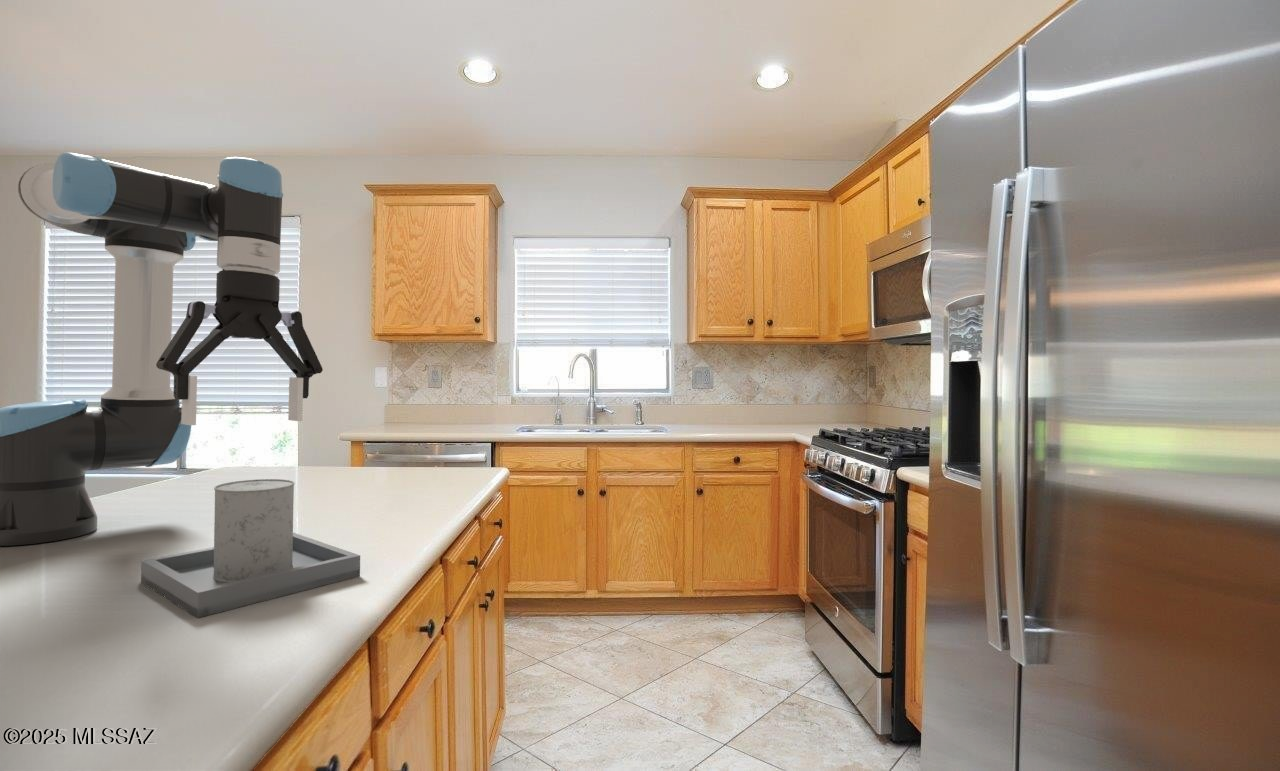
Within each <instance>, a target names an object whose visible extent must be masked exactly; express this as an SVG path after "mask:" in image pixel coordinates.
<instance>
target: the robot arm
mask: <svg viewBox="0 0 1280 771" xmlns="http://www.w3.org/2000/svg"><path fill="white" fill-rule="evenodd" d="M218 169H219V170H218V175H216V177H217V180H218V184H216V185H213V184H208V183H205V182H202V181H201V182H200V181H195V180H192V179H188V178H182V177H179V176H173V175H169V174H166V173H161V172H156V171H152V170H148V169H144V168H139V167H136V166H131V165H127V164H122V163H119V162H114V161H110V160H106V159H103V158H101V157H99V156H93V155H85V154H81V153H80V154H79V153H74V152H63V153H61V154H60V155H58V157H57V160H56V161H55V163H43V164H38V165H35V166H33V167H30V168H28V169H27V170H26V171H24V172H23V173H22V175H21V176H20V178H19V180H18V182H17V193H18V195H19V198H20V200H21V202H22V204H23V206H24V207H25V208H26V209H27V210H28V212H31V213H32V215H33V216H35V217H37V218H38V219H40V220H42V221H44V222H46V223H49V224H51V225H53V226H56V227H57V228H60V229H63V230H65V231H70V232H73V233H76V234H77V233H78V234H82V235H85V236H86V235H87V236H92V237H99V238H104V249H105V250H106V252H107V253H109V254H110V255H111V256H112V257H113V259H114V260H115V268H114V269H115V270H114V301H113V302H114V306H113V309H114V310H113V335H112V336H113V339H112V340H113V342H112V343H113V344H112V375H111V376H112V378H111V379H112V380H111V387H110V389H108V390H107V391H106V392H105V393H103V394H102V395H101V397H100V406H89V403H87V400H86V399H83V398H70V399H68V398H67V399H56V400H46V401H45V400H44V401H35V402H34V401H33V402H27V403H18V404H11V405H8V406H3V407H0V547H3V546H5V547H7V546H8V547H9V546H22V545H23V546H25V545H34V544H35V545H36V544H41V543H48V542H55V541H56V542H57V541H62V540H66V539H71V538H77V537H80V536H84V535H87V534H90V533H93V532H95V531H96V530H98V516H97V512H96V510H95V507H94V505H93V503H92V501H91V498H90V496H89V494H88V491H87V489H86V472H87V471H89V472H90V471H100V470H101V471H102V470H114V469H124V468H126V469H127V468H136V467H137V468H138V467H146V468H151V467H154V466H160V465H161V466H162V465H169V464H172V463H174V462H176V461H178V460H179V459H180V458H181V457H182V456H183V454H184V453H185V451H186V449H187V448H188V447H187V446H188V445H189V441H190V436H191V432H192V426H197V401H198V400H197V399H198V398H197V393H198V376H197V375H190V374H191V373H192V371H193V370H194V369H195V368H196V367H197V366H199V365H200V364H201V363H202V362H203V361H204V360H205V359H206V358H207V357H208V356H209V355H210V354H211V353H212V352H214V351H215V350H216V348H218V347H219V346H220V344H222V343H224V341H225V340H227V339H229V337H231V338H235V339H245V338H246V339H247V338H248V339H250V340H264V342H266V343H268V344H269V346H270V347H271V348H272V349H273V350H274V351H275V353H276V354H277V355H278V356H279V357H280V358H281V360H282V361H283V362H284V363H285V365H286V366H287V367H288V368H289V369H290V370H291V372H292V373H293V374H294V376H296V377H293V376H292V377H291V376H290V377H289V378H288V379H289V384H288V385H289V386H288V418H287V420H288V421H292V422H293V421H294V422H303V404H304V403H303V402H304V399H308V397H309V391H310V378H312V377H313V376H314V375H317V374H321V373H322V372H323V370H324V368H323V367H322V364H321V362H320V360H319V358H318V355H317V354H316V352H315V351H316V350H315V349H314V347H313V345H312V343H311V340H310V338H309V336H308V335H307V332H306V330H305V328H304V323H303V314H302V313H301V311H300V310H299V311H298V310H294V311H288V312H287V311H286V312H281V310H280V308H279V307H280V306H279V303H280V290H281V289H280V288H281V285H280V284H281V282H280V278H279V277H278V276H276V275H278V274H279V273H280V272H281V270H280V269H281V237H282V236H281V235H282V209H283V208H282V207H283V198H284V194H283V187H282V186H283V183H282V174H281V172H280V170H279V169H278V168H276V167H275V166H274V165H272V164H269V163H267V162H264V161H261V160H257V159H253V158H249V157H239V156H238V157H237V156H233V157H232V156H231V157H226V158H223V159H222V160H220V163H219V168H218ZM196 237H199V238H200V239H203V240H205V241H207V242H208V241H209V242H217V250H216V266H217V267H218V268H220V269H221V270H218V272H216V282H215V284H216V288H215V289H216V290H215V295H216V296H215V297H216V298H215V299H216V301H215V304H208V303H205V302H204V301H202V300H197V301H190V302H189V303H188V304H187V308H186V309H187V310H186V315H185V319H184V320H183V322H182V323H181V325H180V326H179V328H178V329H177V330H176V332H175V333H174V335H173V337H172V331H173V330H172V329H173V328H172V327H173V296H174V293H173V292H174V291H173V290H174V288H173V287H174V266H175V265H176V264H178V263H179V262H180V261H182V260H183V259H184V252H186V251H190V250H193V248H194V247H195V245H196V241H197V240H196ZM211 314H212V316H213V317H214V318H215V319H216V321H217V322H218V324H217V325H216V326H215V327H214V328H213V329H211V331H210V332H209V334H208V335H206V337H205V338H203V340H202V341H200V342H199V343H198V344H197V345H196V346H195V347H194V348H193V349H192V350H190V351H189V352H188V353H187V354H186V355H185V356H184V357H183V358H182V359H181V360H180V361H179V359H180V357H181V356H182V355H183V353H184V351H185V350H186V348H187V347H188V345H189V344H190V343H191V341H192V339H193V337H194V336H195V334H196V333H197V331H198V330H199V328H200V326H201V324H202V323H203V321H204V320H206V319H208V318H209V316H210V315H211ZM281 321H282V323H283V325H284V326H286V328H287V332H288V333H289V336H290V339H291V340H292V342H293V344H294V346H295V348H296V351H297V353H298V354H299V356H300V357H299V356H298V354H297V353H296V352H295V351H294V350H293V349H292V348H291V346H290V345H289V344H288V342H287V341H286V340H285V338H284V336H283V334H282V333H281V332H280V331H279V329H278V328H277V327H276V326H277V325H278V324H279V323H280V322H281ZM178 361H179V362H178ZM171 374H172V376H173V390H172V389H171V388H172V387H171ZM180 400H181V403H180Z"/></svg>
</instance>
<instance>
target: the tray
mask: <svg viewBox="0 0 1280 771" xmlns="http://www.w3.org/2000/svg"><path fill="white" fill-rule="evenodd" d="M140 563H141V564H140V565H141V566H140V568H141V569H140V570H141V571H140V572H141V573H140V583H142V584H143V583H144V585H145V586H146V585H147V586H146V587H148V586H149V587H150V589H151V588H152V589H151V590H153V589H154V590H155V592H156V591H157V592H158V593H157V592H156V593H157V594H159V593H160V594H161V595H160V594H159V595H160V596H162V595H163V596H162V597H164V596H165V597H166V598H165V597H164V598H165V599H167V598H168V599H169V601H170V600H171V601H172V602H171V601H170V602H171V603H173V602H174V603H173V604H175V605H176V604H177V605H176V606H178V605H179V606H180V607H179V606H178V607H179V608H181V607H182V608H183V609H182V608H181V609H182V610H184V609H185V610H186V612H187V611H188V612H187V613H188V614H191V615H192V616H193V617H194V618H196V619H200V618H203V617H207V616H211V615H215V614H218V613H222V612H223V613H224V612H226V611H230V610H235V609H237V608H241V607H245V606H250V605H254V604H258V603H261V602H265V601H269V600H273V599H276V598H280V597H281V598H282V597H284V596H288V595H292V594H296V593H300V592H303V591H307V590H312V589H316V588H318V587H319V588H320V587H323V586H327V585H331V584H335V583H339V582H342V581H346V580H350V579H354V578H358V577H361V555H360V554H357V553H354V552H351V551H348V550H345V549H343V548H339V547H337V546H334V545H331V544H328V543H325V542H322V541H319V540H316V539H313V538H310V537H308V536H304V535H302V534H298V533H296V532H293V556H292V564H293V568H291V569H287V570H283V571H278V572H274V573H269V574H265V575H260V576H256V577H252V578H247V579H243V580H238V581H234V582H229V583H225V582H219V581H216V580H214V579H213V574H214V546H213V547H208V548H203V549H198V550H197V549H196V550H192V551H191V550H190V551H185V552H181V553H175V554H170V555H163V556H157V557H152V558H147V559H142V560H141V562H140ZM149 587H148V588H149ZM154 590H153V591H154ZM168 599H167V600H168ZM185 610H184V611H185Z"/></svg>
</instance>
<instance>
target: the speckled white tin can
mask: <svg viewBox="0 0 1280 771" xmlns="http://www.w3.org/2000/svg"><path fill="white" fill-rule="evenodd" d="M213 487H214V488H213V489H214V524H213V525H214V528H213V530H214V531H213V532H214V534H213V543H214V544H213V547H214V574H213V579H214V580H216V581H219V582H225V583H229V582H234V581H238V580H243V579H247V578H252V577H256V576H260V575H265V574H269V573H274V572H278V571H283V570H287V569H291V568H293V564H292V556H293V533H294V490H295V481H293V480H290V479H282V478H281V479H280V478H279V479H278V478H277V479H276V478H265V479H264V478H261V479H246V480H238V481H230V482H226V483H220V484H217V485H215V486H213Z"/></svg>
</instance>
